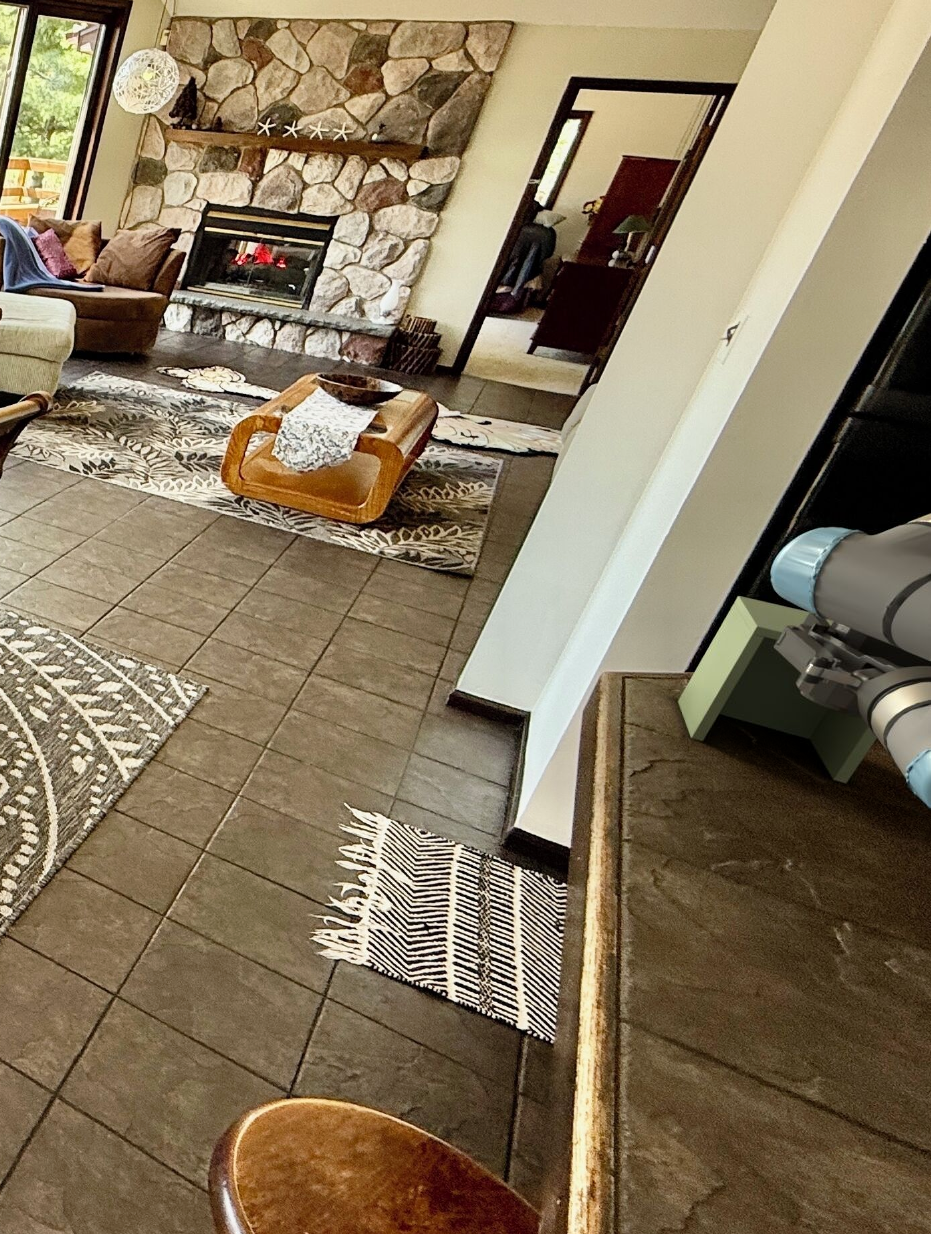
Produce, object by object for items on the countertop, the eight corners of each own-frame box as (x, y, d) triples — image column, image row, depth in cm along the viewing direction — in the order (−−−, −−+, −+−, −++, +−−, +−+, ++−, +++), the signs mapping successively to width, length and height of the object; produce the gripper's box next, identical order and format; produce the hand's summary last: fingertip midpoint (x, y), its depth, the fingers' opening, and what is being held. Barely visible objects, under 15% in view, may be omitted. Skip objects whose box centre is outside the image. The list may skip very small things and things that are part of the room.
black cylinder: (885, 704, 102) (944, 617, 98) (907, 732, 96) (970, 640, 92) (785, 679, 106) (837, 593, 102) (801, 704, 101) (857, 615, 96)
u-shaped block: (819, 743, 118) (892, 631, 112) (844, 785, 109) (925, 666, 103) (676, 703, 125) (738, 595, 119) (689, 740, 116) (756, 626, 110)
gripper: (751, 713, 93) (711, 635, 109) (1093, 807, 82) (990, 704, 98) (794, 641, 90) (746, 573, 106) (1155, 729, 79) (1039, 637, 95)
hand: (864, 636), depth 102 cm, fingers closed on black cylinder, 7 cm apart
